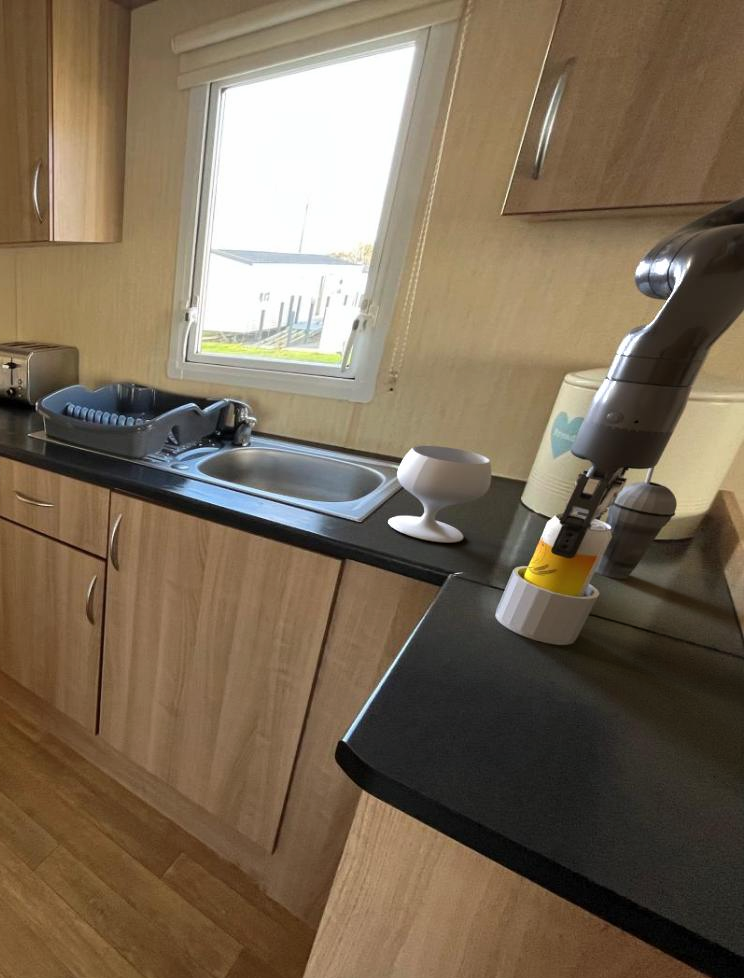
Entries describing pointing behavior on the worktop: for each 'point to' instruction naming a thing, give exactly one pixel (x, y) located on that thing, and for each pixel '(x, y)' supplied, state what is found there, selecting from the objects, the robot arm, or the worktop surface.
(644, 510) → the beverage cup
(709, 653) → the worktop surface
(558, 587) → the beer can
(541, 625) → the can holder
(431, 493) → the chalice
